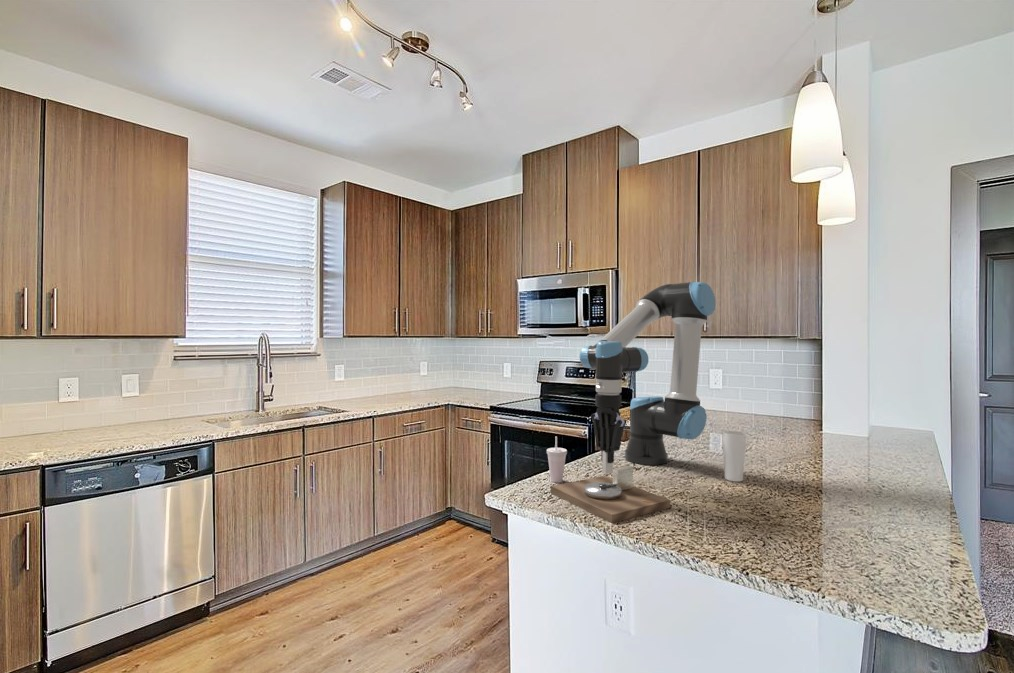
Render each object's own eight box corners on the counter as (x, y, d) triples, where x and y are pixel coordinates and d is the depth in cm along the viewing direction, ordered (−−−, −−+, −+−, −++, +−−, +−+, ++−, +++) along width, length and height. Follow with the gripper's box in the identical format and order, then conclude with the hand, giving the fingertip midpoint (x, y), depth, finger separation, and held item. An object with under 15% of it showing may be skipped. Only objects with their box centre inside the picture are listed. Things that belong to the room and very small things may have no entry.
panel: (605, 481, 149) (605, 475, 149) (670, 507, 128) (670, 499, 128) (550, 493, 138) (550, 485, 138) (611, 523, 117) (611, 514, 117)
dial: (617, 482, 142) (618, 462, 142) (643, 492, 133) (643, 470, 133) (576, 490, 134) (577, 469, 134) (601, 502, 125) (601, 479, 125)
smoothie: (543, 481, 149) (543, 436, 149) (550, 476, 154) (551, 433, 154) (562, 485, 146) (562, 439, 146) (569, 479, 151) (570, 435, 151)
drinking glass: (740, 477, 156) (741, 431, 156) (749, 483, 149) (749, 435, 149) (719, 476, 156) (719, 430, 156) (726, 482, 150) (727, 434, 150)
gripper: (584, 391, 145) (583, 469, 146) (614, 396, 134) (613, 480, 134) (603, 390, 149) (602, 465, 149) (633, 395, 138) (632, 477, 138)
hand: (607, 472), depth 142 cm, fingers closed
